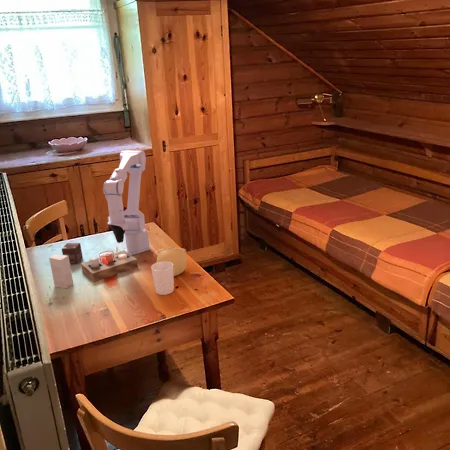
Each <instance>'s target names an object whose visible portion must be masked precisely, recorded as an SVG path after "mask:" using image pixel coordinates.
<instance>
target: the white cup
mask: <svg viewBox="0 0 450 450" xmlns="http://www.w3.org/2000/svg"><path fill="white" fill-rule="evenodd" d="M150 269H151V275H152V281H153V286H154V289H155V294H158V295H161V296H163V295H165V296H167V295H169V294H170V295H171V294H172V293H173V292H174V291H175V286H174V285H175V276H174V272H173V264H172V263H171V262H167V261H162V262H157V261H156V262H155V263H153V264H152V265H151V266H150Z"/></svg>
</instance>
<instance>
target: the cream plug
mask: <svg viewBox="0 0 450 450" xmlns="http://www.w3.org/2000/svg"><path fill="white" fill-rule="evenodd" d="M126 258H127V255H126V254H120V255H118V259H119V260H123V259H126Z"/></svg>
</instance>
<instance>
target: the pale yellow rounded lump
mask: <svg viewBox="0 0 450 450" xmlns="http://www.w3.org/2000/svg"><path fill="white" fill-rule="evenodd" d="M157 252H158V254H157V258H156V263H157V262H162V261H167V262H171V263H172V264H173V272H174V277H176V276H178V275H180V274H182V273H184V271H185V270H186V266H187V262H188V261H187V259H188V258H187V250H186V248H183V247H177V246H176V245H169V246H166V247H163V248H160V249H158V250H157Z"/></svg>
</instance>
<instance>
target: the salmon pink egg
mask: <svg viewBox="0 0 450 450" xmlns="http://www.w3.org/2000/svg"><path fill="white" fill-rule="evenodd" d="M110 253H111V254H110V255H108V256H105V257H106V260H107V261H108V264H110V263H113V262H114V261H113V254H114V253H112V252H110Z"/></svg>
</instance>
